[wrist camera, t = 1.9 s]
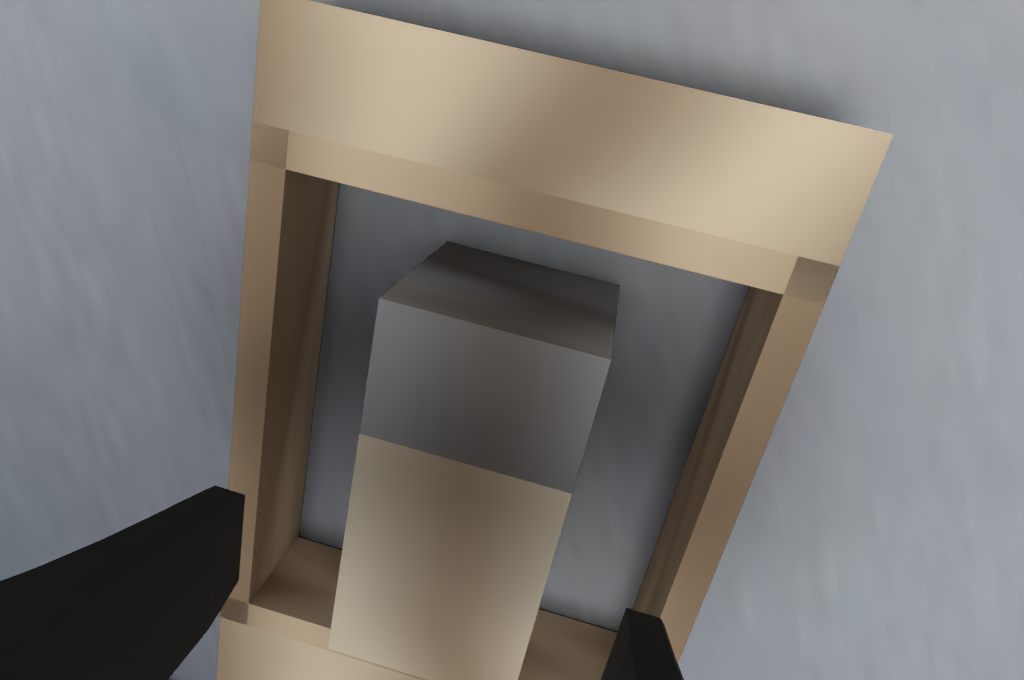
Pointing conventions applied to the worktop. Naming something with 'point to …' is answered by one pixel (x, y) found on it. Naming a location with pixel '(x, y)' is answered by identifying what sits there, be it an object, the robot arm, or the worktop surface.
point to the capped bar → (467, 460)
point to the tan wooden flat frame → (531, 206)
